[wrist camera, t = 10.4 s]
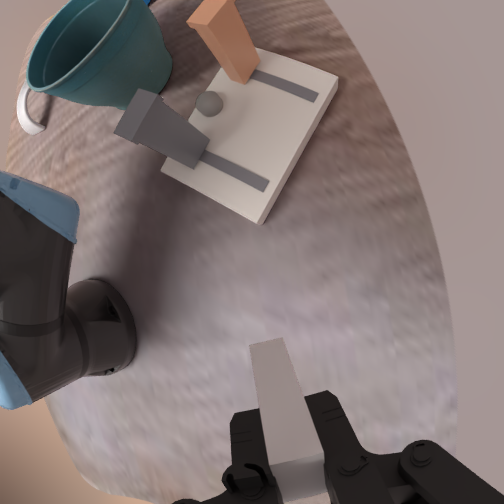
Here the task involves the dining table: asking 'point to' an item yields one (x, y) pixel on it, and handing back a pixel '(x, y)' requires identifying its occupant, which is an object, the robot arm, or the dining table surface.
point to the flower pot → (100, 53)
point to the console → (255, 132)
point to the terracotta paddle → (226, 37)
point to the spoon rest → (26, 112)
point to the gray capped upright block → (161, 129)
